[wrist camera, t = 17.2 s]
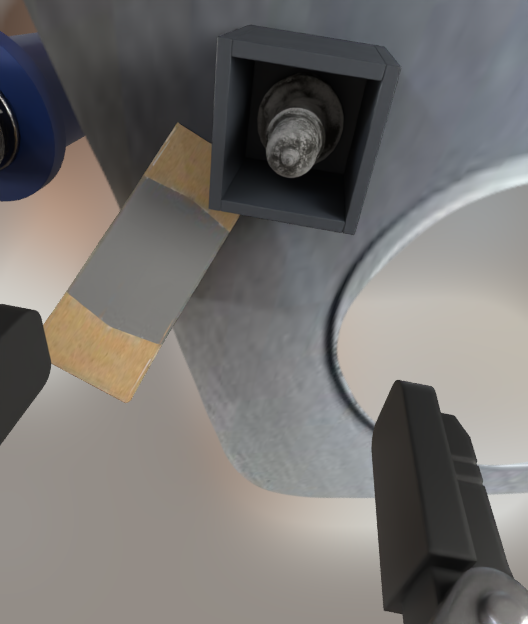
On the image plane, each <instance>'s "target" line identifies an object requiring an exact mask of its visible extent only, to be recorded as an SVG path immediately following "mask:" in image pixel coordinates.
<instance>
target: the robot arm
mask: <svg viewBox="0 0 528 624" xmlns="http://www.w3.org/2000/svg"><path fill="white" fill-rule="evenodd" d="M20 139H21V138H20V129H19V124H18V121H17V118H16V115H15V113H14V111H13V109H12V107H11V105H10V103H9V102H8V100H7V98H6V97H5V96H4V94H3V93H2V92H1V90H0V170H1V169H3V168H5V167H7V166H9V165H10V164H11V163H12V162H13V161H14V160H15V158H16V156H17V154H18V152H19V148H20ZM50 369H51V358H50V353H49V349H48V345H47V340H46V336H45V332H44V328H43V323H42V319H41V316H40V314H39V313H38V312H37V311H36V310H31V309H26V308H21V307H15V306H10V305H5V304H0V445H1V443H2V442H3V441H4V439H5V438H6V437H7V435H8V434H9V433H10V431H11V430H12V429H13V427H14V426H15V424H16V423H17V422H18V421H19V419H20V418H21V417H22V415H23V414H24V412H25V411H26V410H27V408H28V407H29V406H30V404H31V403H32V402H33V400H34V399H35V398H36V396H37V395H38V394H39V392H40V391H41V390H42V388H43V387H44V385H45V384H46V382H47V379H48V377H49V374H50ZM372 463H373V476H374V489H375V502H376V515H377V529H378V542H379V554H380V568H381V582H382V595H383V608H384V611H389V612H394V613H399V614H403V623H404V624H528V590H527V589H526V588H525V587H523V586H522V585H521V584H520V583H519V582H518V581H516V580H515V579H514V577H513V575H512V573H511V571H510V568H509V565H508V563H507V560H506V556H505V553H504V549H503V546H502V542H501V539H500V536H499V532H498V529H497V526H496V522H495V519H494V516H493V513H492V509H491V506H490V502H489V499H488V496H487V492H486V489H485V486H483V484H482V483H483V479H482V475H481V472H480V469H479V466H477V459H476V455H475V452H474V449H473V446H472V443H471V439H470V437H469V435H468V434H467V432H466V431H465V430H464V428H463V427H462V425H461V424H460V423H459V421H458V420H457V419H456V417H455V416H454V415H449V414H444V413H441V412H440V408H439V404H438V400H437V396H436V392H435V390H434V388H433V387H432V386H428V385H422V384H417V383H411V382H406V381H401V380H396V381H395V382H394V384H393V386H392V388H391V390H390V392H389V395H388V397H387V399H386V401H385V404H384V406H383V408H382V410H381V412H380V415H379V417H378V420H377V421H376V424H375V427H374V431H373V437H372Z"/></svg>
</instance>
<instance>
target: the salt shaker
mask: <svg viewBox="0 0 528 624" xmlns="http://www.w3.org/2000/svg"><path fill="white" fill-rule="evenodd" d="M343 121H344V116H343V110H342V105H341V103H340V101H339V99H338V97H337V95H336V93H335V91H334V89H333V87H332V86H331V85H330V84H329V83H328V82H327V80H325V79H324V78H322V77H321V76H319V75H317V74H313V73H310V72H299V73H296V74H293V75H290V76H288V77H287V78H285V79H282V80H281V81H279V82H278V83H276V84H275V85H273V86H272V87H271V89H270V90H269V91H268V92H267V93H266V95H265V96H264V98H263V100H262V102H261V104H260V106H259V111H258V116H257V127H258V133H259V136H260V140H261V142H262V144H263V146H264V147H265V149H266V157H267V160H268V163H269V165H270V167H271V168H272V169H273V170H274V171H275V172H276V173H277V174H279V175H281V176H283V177H287V178H295V177H299V176H301V175H303V174H305V173H306V172H308V171H309V170H310V169H311V168H312V166H313V165H314V164H317V163H318V162H320V161H322V160H324V159H325V158H326V157H327V156H328V155H329V154H330V153H331V152H332V151H333V150H334V149H335V147H336V145H337V144H338V142H339V140H340V137H341V134H342V131H343Z"/></svg>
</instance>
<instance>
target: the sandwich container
mask: <svg viewBox="0 0 528 624" xmlns="http://www.w3.org/2000/svg"><path fill="white" fill-rule="evenodd" d="M211 150H212V144H210V143H209V142H207V141H206V140H204V139H202V138H201V137H199V136H198V135H196V134H195V133H193V132H191V131H190V130H188V129H187V128H185V127H184V126H182V125H180V124H179V123H177V124H176V126H175V127H174V129H173V130H172V132H171V133H170V135H169V136H168V138H167V140H166V141H165V143H164V144H163V146H162V147H161V149H160V150H159V152H158V153H157V155H156V156H155V158H154V160H153V161H152V163H151V164H150V166H149V167H148V169H147V170H146V172H145V173H144V175H143V177H142V178H141V180H140V181H139V183H138V184H137V186H136V187H135V189H134V190H133V192H132V193H131V195H130V197H129V198H128V200H127V201H126V203H125V204H124V206H123V207H122V209H121V210H120V212H119V214H118V215H117V217H116V218H115V219H114V221H113V223H112V224H111V225H110V227H109V228H108V230H107V231H106V233H105V235H104V236H103V237H102V239H101V240H100V242H99V243H98V245H97V246H96V248H95V249H94V251H93V252H92V254H91V256H90V257H89V258H88V260H87V261H86V263H85V264H84V266H83V267H82V269H81V270H80V272H79V273H78V275H77V276H76V278H75V279H74V281H73V283H72V284H71V285H70V287H69V289H68V290H67V292H66V293H65V294H64V296H63V297H62V299H61V300H60V302H59V303H58V304H57V306H56V307H55V309H54V310H53V312H52V313H51V315H50V316H49V317H48V319H47V320H46V322H45V323H44V325H43V328H44V332H45V336H46V340H47V345H48V349H49V353H50V358H51V364H53V365H55V366H57V367H59V368H61V369H62V370H65V371H66V372H68V373H70V374H72V375H73V376H75V377H77V378H79V379H81V380H83V381H85V382H87V383H88V384H90V385H92V386H94V387H96V388H98V389H100V390H102V391H104V392H106V393H107V394H109V395H111V396H113V397H115V398H117V399H118V400H120V401H122V402H124V403H128V402H129V401H130V400H131V399H132V397H133V395H134V393H135V392H136V390H137V388H138V386H139V385H140V383H141V381H142V379H143V378H144V376H145V374H146V372H147V370H148V368H149V367H150V365H151V363H152V362H153V360H154V358H155V356H156V355H157V353H158V351H159V349H160V348H161V346H162V344H163V342H164V341H165V339H166V337H167V336H168V334H169V332H170V331H171V329H172V327H173V326H174V324H175V322H176V321H177V319H178V317H179V316H180V314H181V312H182V311H183V309H184V307H185V306H186V304H187V302H188V301H189V299H190V298H191V296H192V294H193V293H194V291H195V289H196V288H197V286H198V284H199V283H200V281H201V279H202V278H203V276H204V274H205V273H206V271H207V269H208V268H209V266H210V264H211V263H212V261H213V259H214V258H215V256H216V254H217V253H218V251H219V249H220V248H221V246H222V244H223V243H224V241H225V239H226V238H227V236H228V235H229V233H230V231H231V230H232V228H233V226H234V225H235V223H236V221H237V220H238V218H239V216H240V215H239V214H234V213H228V212H222V211H221V210H220V211H217V210H211V209H209V208H208V207H209V188H210V169H211Z"/></svg>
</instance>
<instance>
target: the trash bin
mask: <svg viewBox="0 0 528 624" xmlns="http://www.w3.org/2000/svg"><path fill="white" fill-rule="evenodd" d="M400 71H401V66H400V65H399V64H398V63H397V61H396V60H395V59H394V58H393V56H392V55H391V54H390V53H389V52H388V50H387V49H386V48H385V47H383V46H377V45H370V44H364V43H358V42H352V41H346V40H340V39H334V38H328V37H322V36H315V35H309V34H303V33H297V32H291V31H285V30H279V29H273V28H267V27H260V26H254V25H248V26H245V27H242V28H240V29H237V30H234V31H232V32H229V33H226V34H224V35H221V36H218V37H217V55H216V74H215V93H214V112H213V131H212V150H211V169H210V188H209V207H208V208H209V209H211V210H217V211H220V210H221V211H222V212H228V213H234V214H239V215H245V216H250V217H256V218H261V219H267V220H273V221H278V222H284V223H289V224H295V225H300V226H306V227H312V228H317V229H323V230H328V231H334V232H339V233H342V232H343V233H346V234H351V235H354V234H355V231H356V228H357V224H358V221H359V217H360V214H361V210H362V206H363V203H364V199H365V196H366V192H367V189H368V185H369V182H370V178H371V174H372V171H373V167H374V164H375V160H376V157H377V153H378V149H379V146H380V142H381V139H382V135H383V132H384V128H385V125H386V121H387V117H388V114H389V110H390V107H391V103H392V100H393V96H394V93H395V89H396V85H397V82H398V78H399V75H400ZM299 72H310V73H313V74H317V75H319V76H321V77H322V78H324V79H325V80H327V82H328V83H329V84H330V85H331V86H332V87H333V89H334V91H335V93H336V95H337V97H338V99H339V101H340V103H341V105H342V110H343V116H344V121H343V131H342V134H341V137H340V140H339V142H338V144H337V145H336V147H335V149H334V150H333V151H332V152H331V153H330V154H329V155H328V156H327V157H326V158H325V159H324V160H322V161H320V162H318V163H317V164H314V165H313V166H312V168H311V169H310V170H309V171H308V172H306V173H305V174H303V175H301V176H299V177H295V178H287V177H283V176H281V175H279V174H277V173H276V172H275V171H274V170H273V169H272V168H271V167H270V165H269V163H268V160H267V157H266V149H265V147H264V146H263V144H262V142H261V140H260V136H259V133H258V127H257V116H258V111H259V106H260V104H261V102H262V100H263V98H264V96H265V95H266V93H267V92H268V91H269V90H270V89H271V87H272V86H273V85H275V84H276V83H278V82H279V81H281V80H282V79H285V78H287V77H288V76H290V75H293V74H296V73H299Z"/></svg>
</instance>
